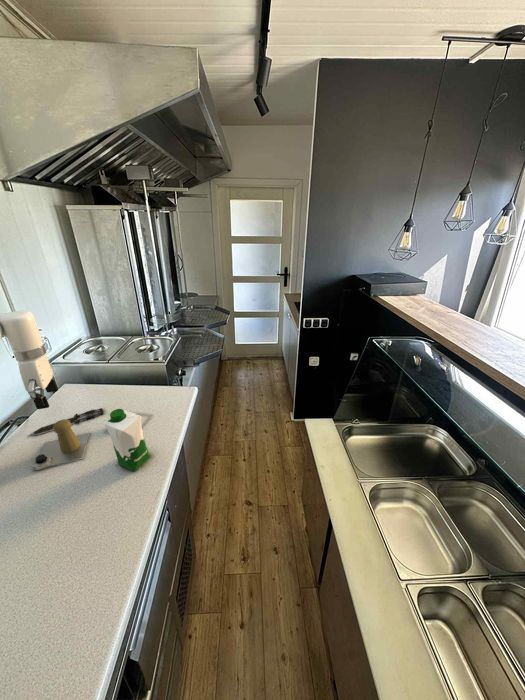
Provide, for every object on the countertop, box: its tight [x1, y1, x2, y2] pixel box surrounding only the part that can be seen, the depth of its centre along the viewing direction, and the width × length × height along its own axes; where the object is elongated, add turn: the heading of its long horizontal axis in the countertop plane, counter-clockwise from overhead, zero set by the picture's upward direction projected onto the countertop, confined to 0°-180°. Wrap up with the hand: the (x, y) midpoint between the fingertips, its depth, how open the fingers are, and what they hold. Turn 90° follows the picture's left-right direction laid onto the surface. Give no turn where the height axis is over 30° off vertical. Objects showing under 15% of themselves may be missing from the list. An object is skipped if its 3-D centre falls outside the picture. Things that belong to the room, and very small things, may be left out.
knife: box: [29, 407, 105, 436], centre depth 115 cm, size 25×6×1 cm, turn 118°
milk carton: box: [104, 408, 151, 472], centre depth 93 cm, size 9×9×20 cm
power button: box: [34, 453, 46, 464], centre depth 95 cm, size 3×3×2 cm
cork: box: [52, 418, 80, 453], centre depth 100 cm, size 6×6×11 cm
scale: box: [30, 432, 90, 471], centre depth 100 cm, size 15×14×2 cm
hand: (48, 399), depth 93 cm, fingers open, 9 cm apart
